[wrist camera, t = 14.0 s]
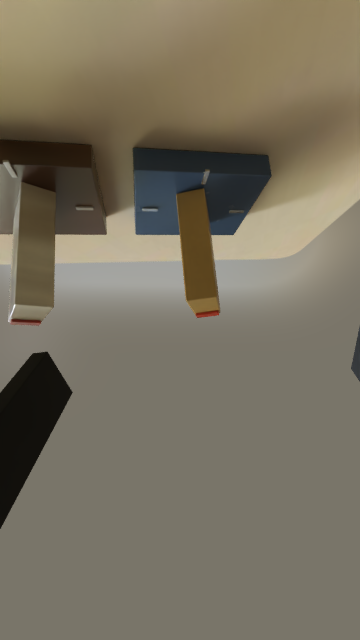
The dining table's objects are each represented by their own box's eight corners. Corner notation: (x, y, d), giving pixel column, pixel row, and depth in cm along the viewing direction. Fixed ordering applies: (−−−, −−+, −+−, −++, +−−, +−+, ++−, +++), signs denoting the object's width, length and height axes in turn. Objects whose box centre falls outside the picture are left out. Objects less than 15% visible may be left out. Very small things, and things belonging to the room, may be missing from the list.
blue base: (134, 220, 29) (135, 238, 28) (132, 143, 19) (133, 167, 19) (230, 221, 31) (232, 238, 30) (270, 151, 21) (274, 174, 21)
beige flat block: (20, 181, 19) (14, 307, 17) (56, 192, 21) (53, 310, 19) (13, 219, 24) (7, 324, 22) (43, 226, 25) (40, 326, 23)
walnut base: (-6, 218, 26) (-8, 237, 26) (-86, 129, 17) (-90, 157, 17) (106, 219, 28) (107, 238, 28) (90, 140, 19) (90, 165, 18)
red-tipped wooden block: (175, 193, 22) (186, 304, 20) (204, 187, 22) (217, 300, 20) (186, 227, 27) (196, 318, 25) (209, 223, 27) (220, 315, 25)
